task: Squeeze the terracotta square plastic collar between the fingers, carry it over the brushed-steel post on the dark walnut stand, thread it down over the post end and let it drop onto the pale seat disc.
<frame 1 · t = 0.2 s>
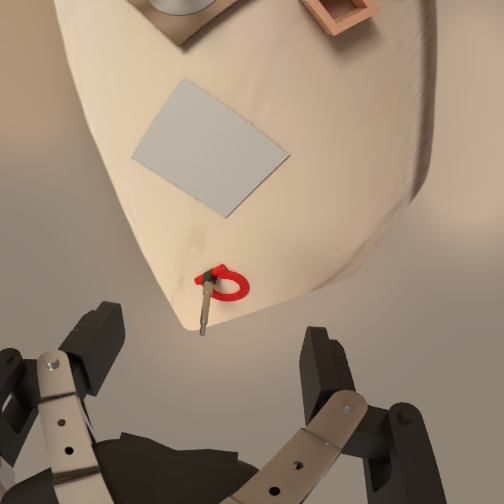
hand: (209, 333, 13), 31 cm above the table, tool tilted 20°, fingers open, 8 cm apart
collar: (332, 1, 25), on the table
tow hook: (224, 282, 58), on the table
grey flat panel: (253, 144, 39), on the table
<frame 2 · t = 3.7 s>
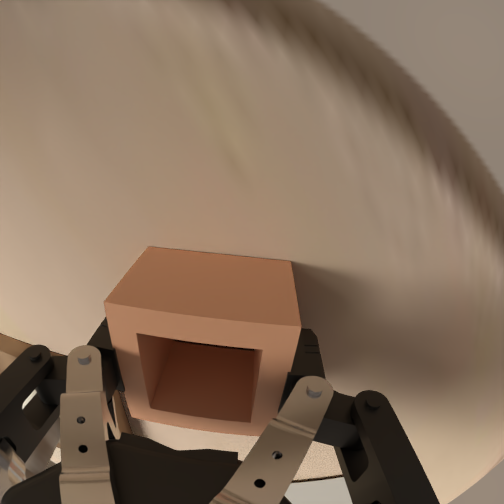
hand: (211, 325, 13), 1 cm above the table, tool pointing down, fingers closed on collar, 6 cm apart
collar: (214, 313, 14), on the table, touching gripper
post stand: (60, 403, 18), on the table
grey flat panel: (323, 480, 22), on the table
when the fingers open (4 cm above the table, at t = 9.8 s): collar drops 1 cm, resting on post stand.
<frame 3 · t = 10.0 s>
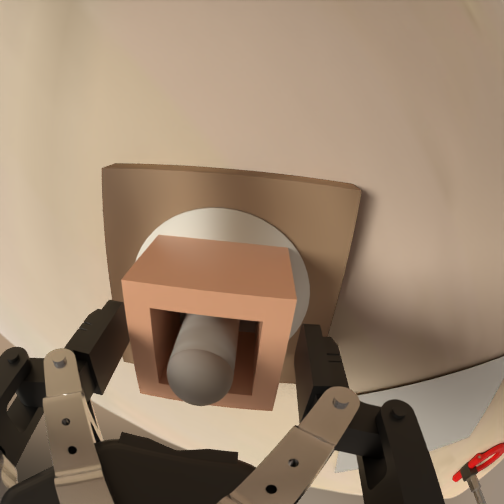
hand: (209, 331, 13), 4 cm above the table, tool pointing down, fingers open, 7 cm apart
collar: (218, 297, 15), point 2 cm above the table, touching post stand
post stand: (222, 280, 17), on the table
tow hook: (481, 457, 29), on the table
grey flat panel: (472, 374, 21), on the table
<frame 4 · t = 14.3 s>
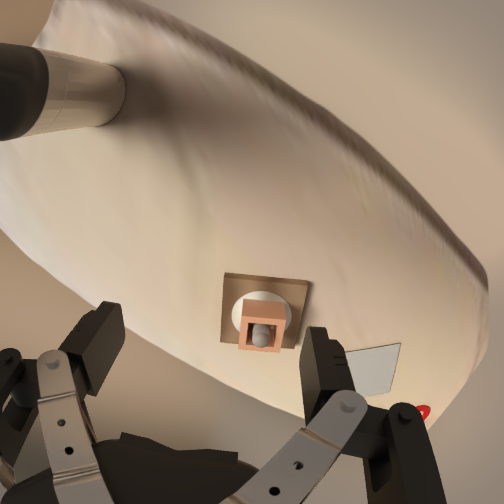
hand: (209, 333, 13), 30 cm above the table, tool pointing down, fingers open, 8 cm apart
collar: (261, 317, 46), point 2 cm above the table, touching post stand
post stand: (261, 310, 48), on the table
tow hook: (412, 415, 60), on the table
grey flat panel: (376, 353, 52), on the table
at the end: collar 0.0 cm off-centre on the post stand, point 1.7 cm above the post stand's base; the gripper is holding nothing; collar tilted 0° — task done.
